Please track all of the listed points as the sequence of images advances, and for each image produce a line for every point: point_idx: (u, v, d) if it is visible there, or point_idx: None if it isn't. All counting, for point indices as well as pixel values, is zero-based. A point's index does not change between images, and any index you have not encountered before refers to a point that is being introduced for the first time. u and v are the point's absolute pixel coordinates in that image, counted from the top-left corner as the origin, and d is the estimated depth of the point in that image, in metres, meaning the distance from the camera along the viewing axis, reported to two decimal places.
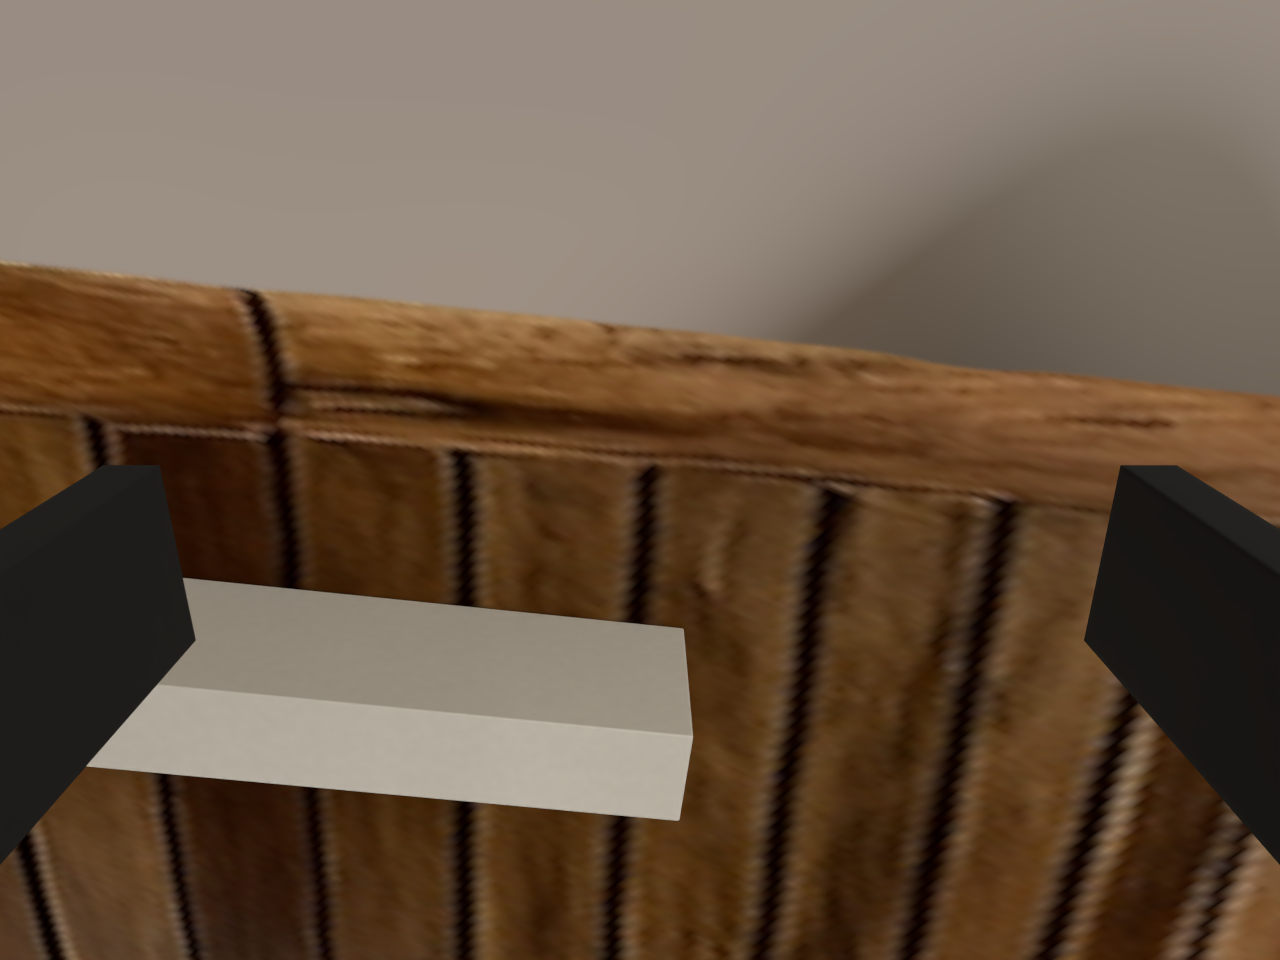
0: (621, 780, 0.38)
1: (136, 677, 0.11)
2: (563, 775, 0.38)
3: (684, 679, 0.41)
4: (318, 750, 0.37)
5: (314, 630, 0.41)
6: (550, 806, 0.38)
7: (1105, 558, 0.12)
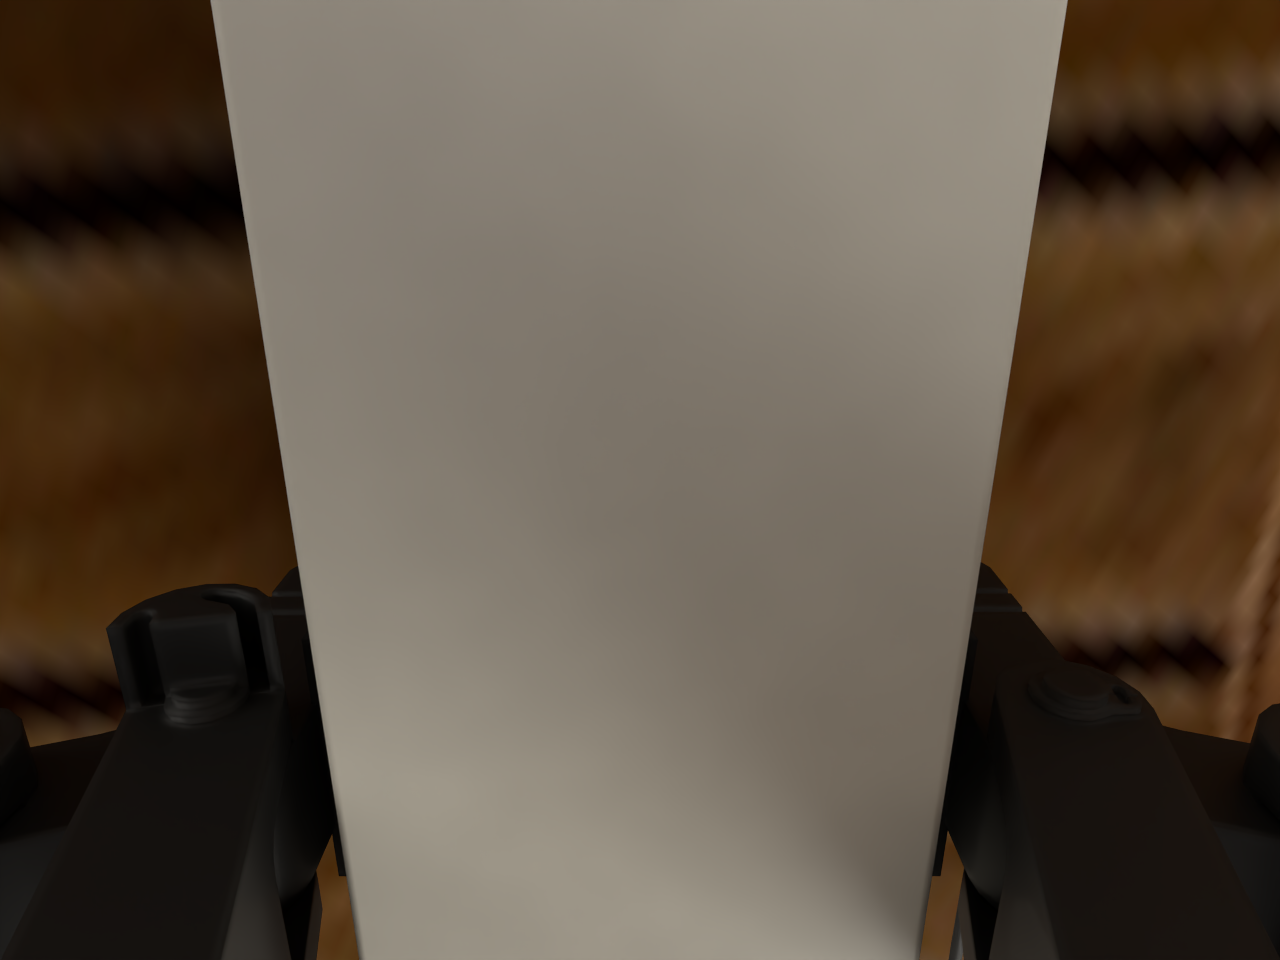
0: None
1: None
2: None
3: None
4: None
5: None
6: (377, 954, 0.07)
7: None
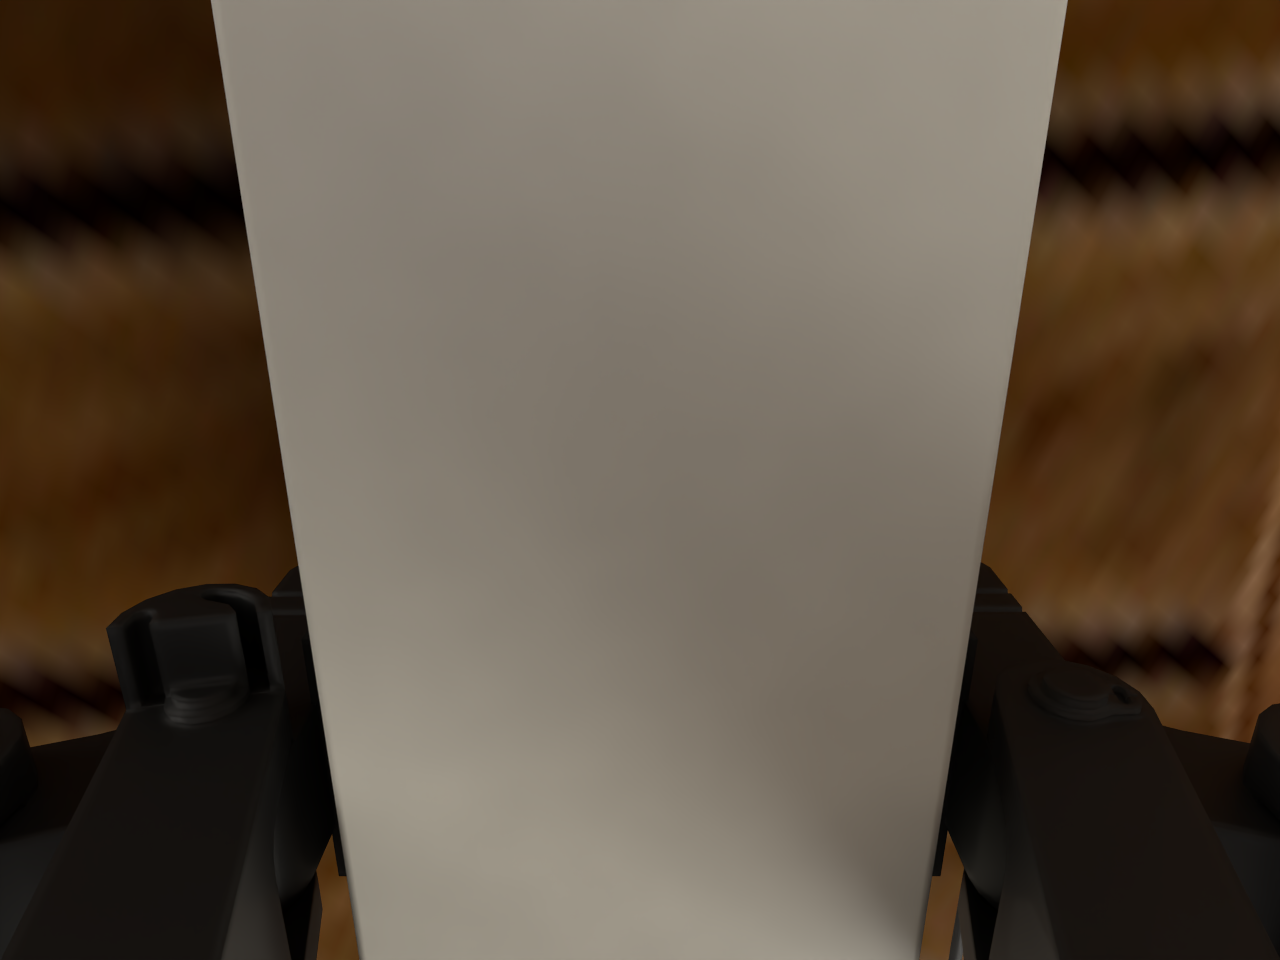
0: None
1: None
2: None
3: None
4: None
5: None
6: (377, 954, 0.07)
7: None
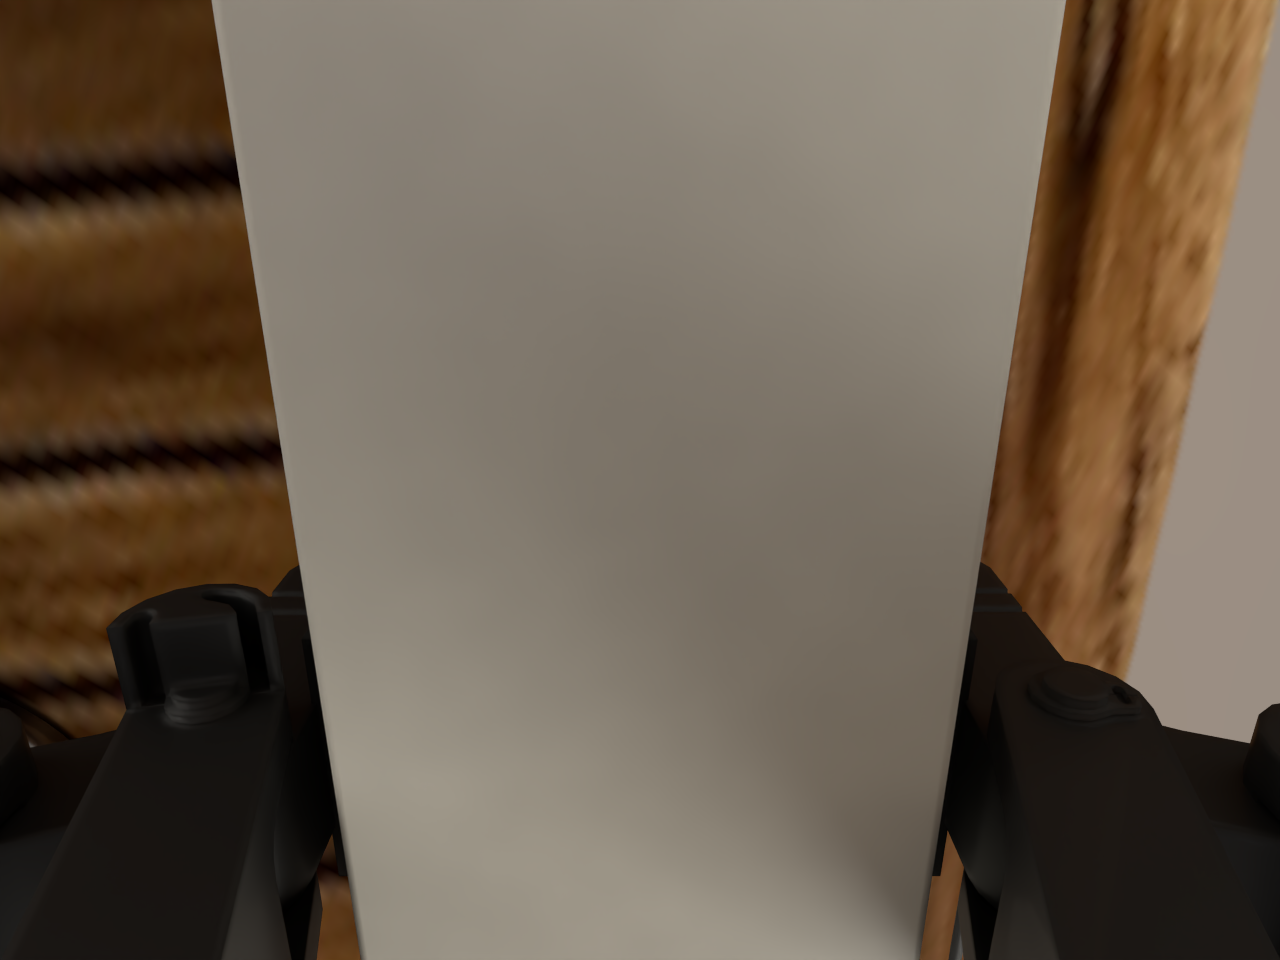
0: None
1: None
2: None
3: None
4: None
5: None
6: (378, 953, 0.07)
7: None
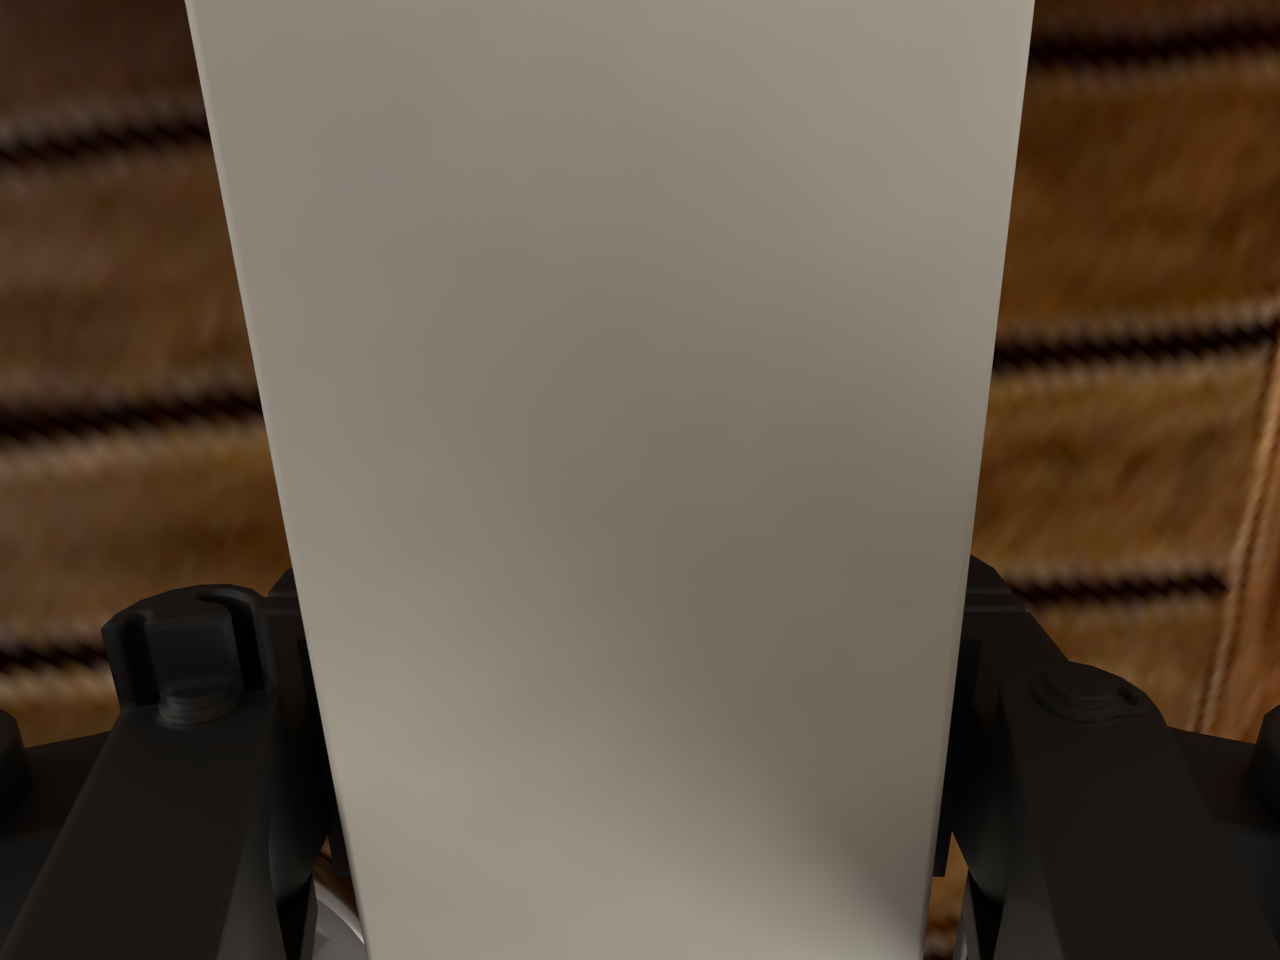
0: None
1: None
2: None
3: None
4: None
5: None
6: (384, 952, 0.07)
7: None
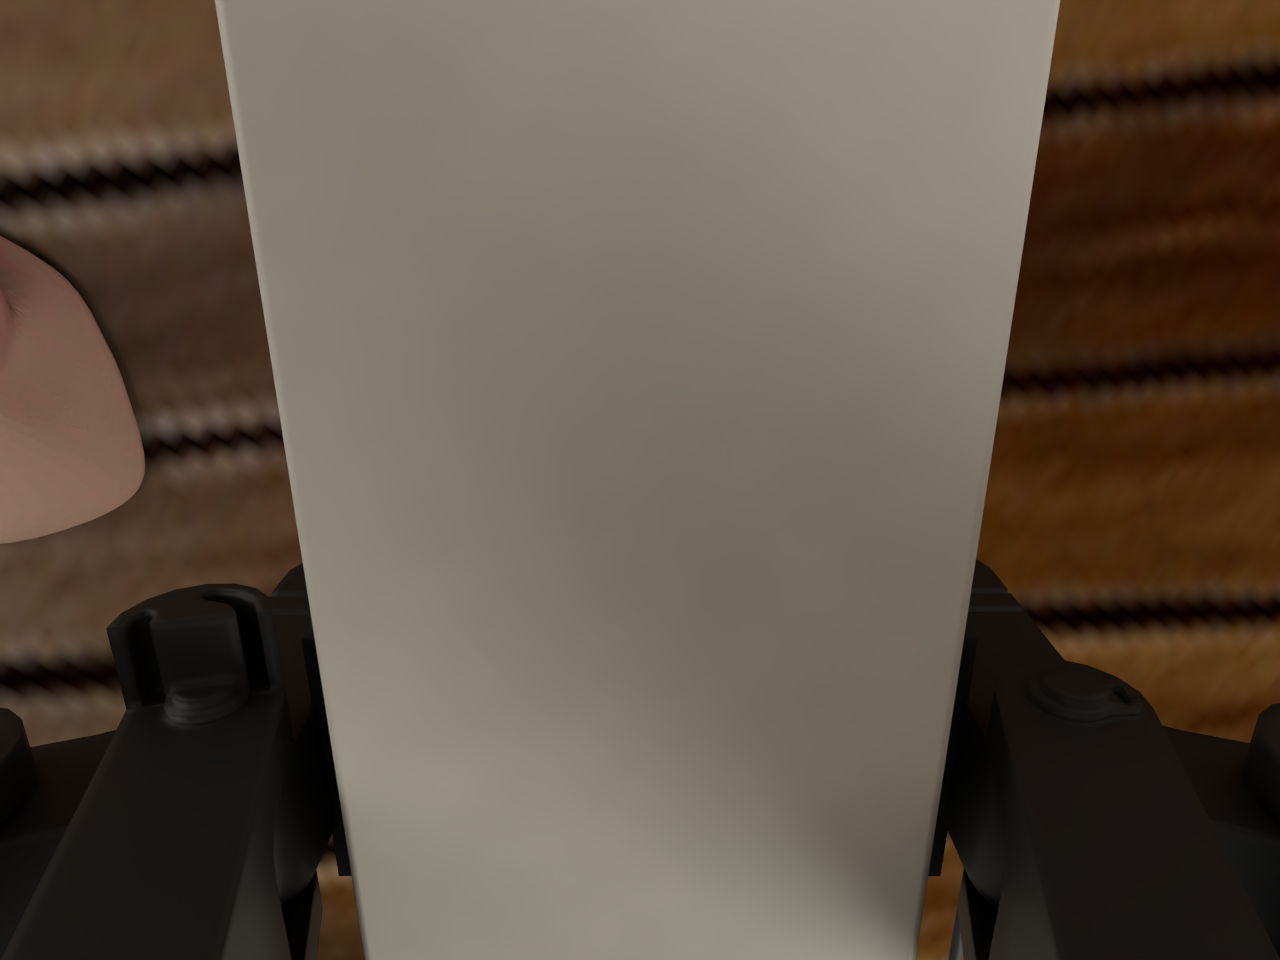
0: None
1: None
2: None
3: None
4: None
5: None
6: (380, 941, 0.07)
7: None
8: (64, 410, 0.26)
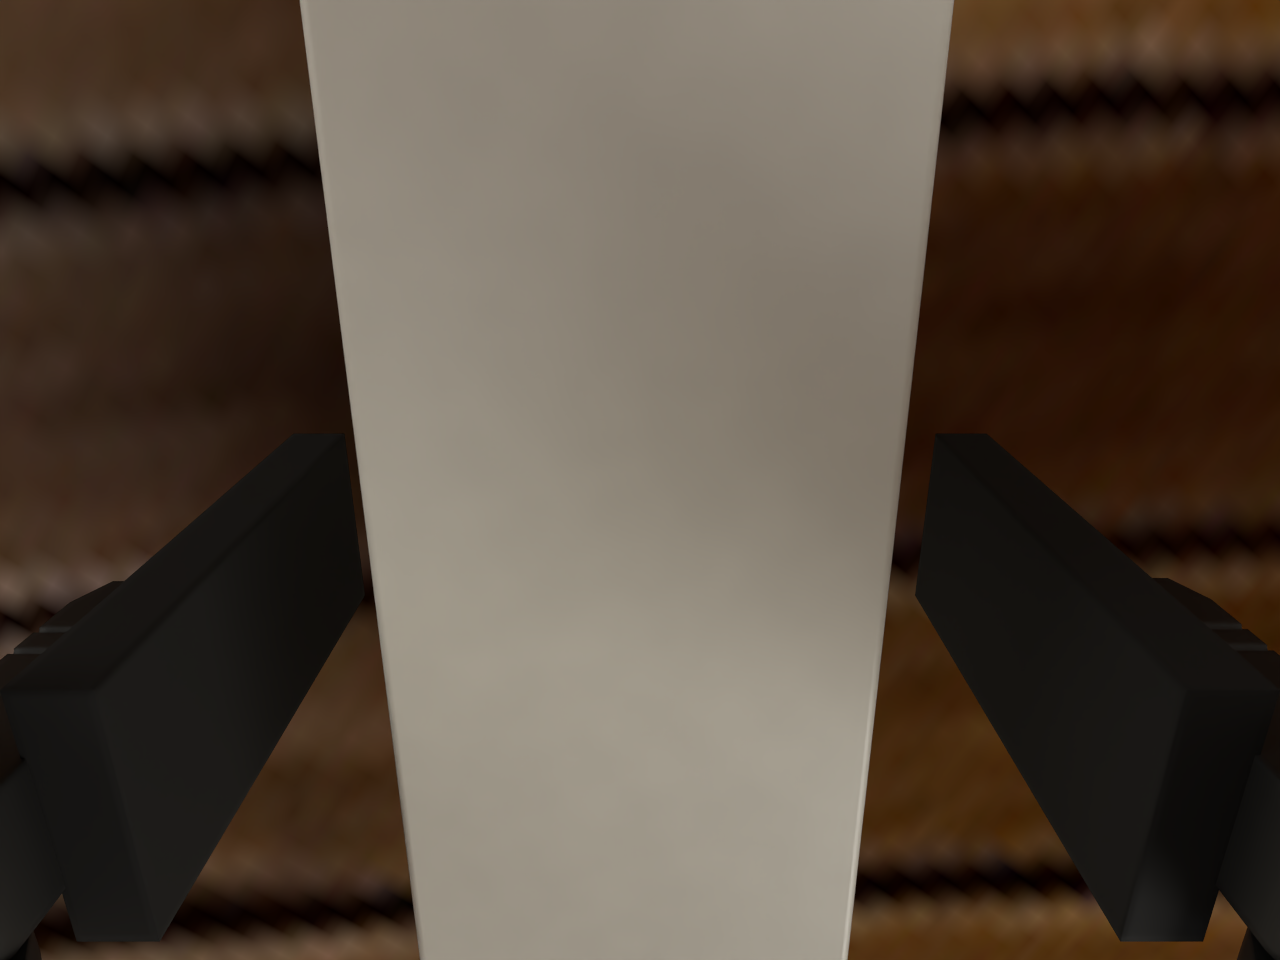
0: None
1: (331, 623, 0.13)
2: (596, 850, 0.09)
3: None
4: None
5: None
6: (417, 814, 0.09)
7: (927, 519, 0.14)
8: None
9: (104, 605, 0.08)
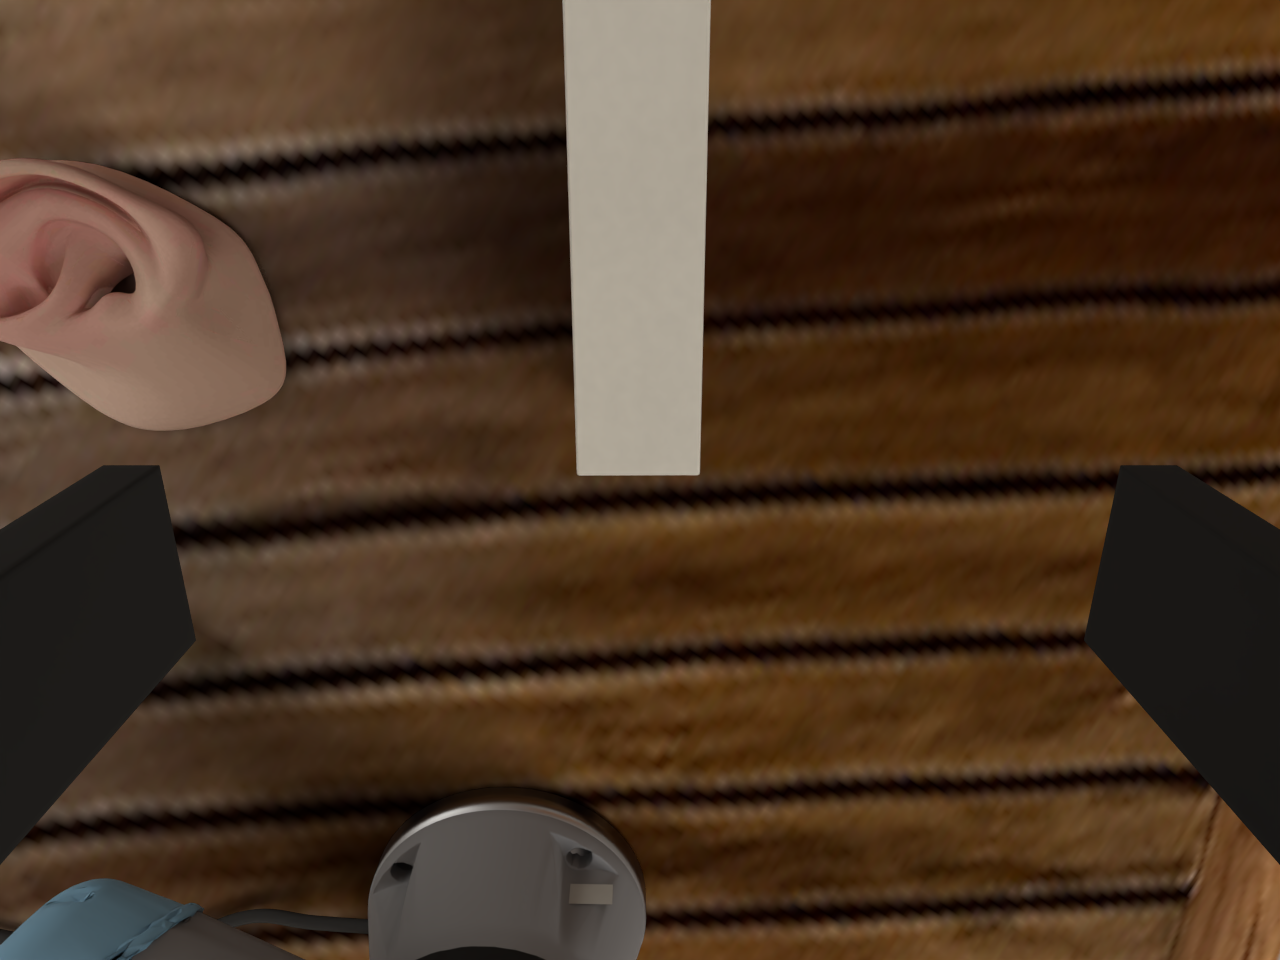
0: (628, 404, 0.31)
1: (136, 677, 0.11)
2: (627, 335, 0.30)
3: None
4: None
5: None
6: (577, 323, 0.30)
7: (1104, 557, 0.12)
8: (236, 328, 0.38)
9: None
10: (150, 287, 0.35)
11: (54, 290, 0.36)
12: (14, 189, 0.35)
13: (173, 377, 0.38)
